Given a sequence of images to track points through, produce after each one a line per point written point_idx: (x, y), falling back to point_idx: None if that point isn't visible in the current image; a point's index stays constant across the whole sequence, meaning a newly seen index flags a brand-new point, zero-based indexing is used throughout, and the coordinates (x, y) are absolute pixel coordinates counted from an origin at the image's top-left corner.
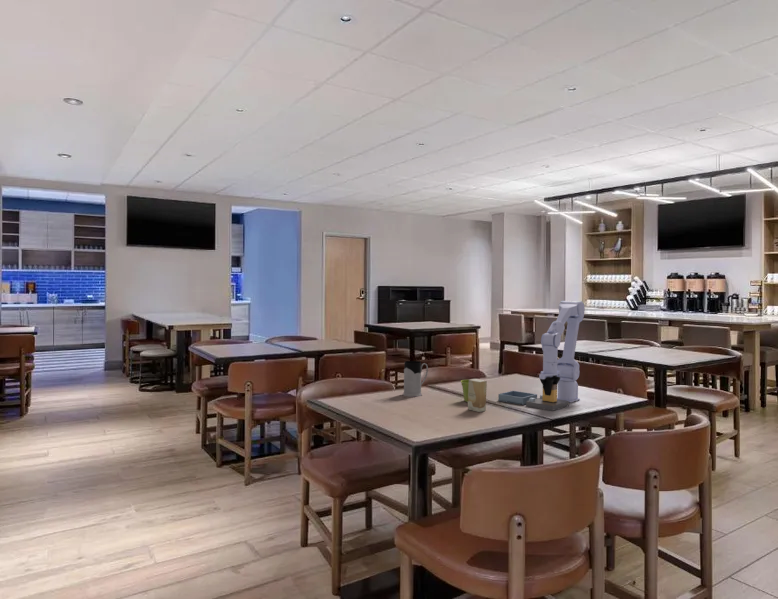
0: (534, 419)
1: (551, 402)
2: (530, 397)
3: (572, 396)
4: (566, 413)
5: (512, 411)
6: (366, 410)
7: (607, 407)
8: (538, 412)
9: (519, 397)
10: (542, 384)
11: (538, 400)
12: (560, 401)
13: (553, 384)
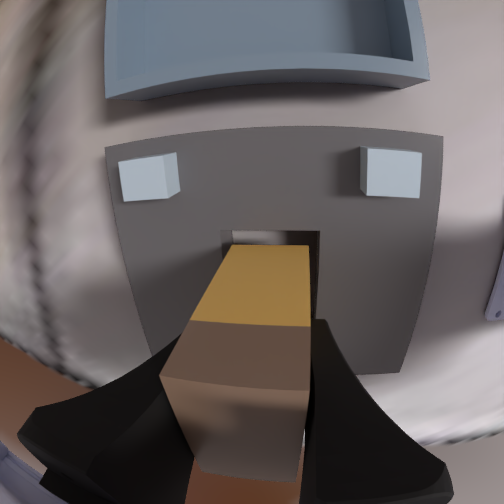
0: (18, 324)
1: (316, 284)
2: (265, 73)
3: None
4: None
5: (4, 191)
6: None
7: (439, 437)
8: (78, 295)
9: (104, 60)
10: (108, 384)
11: (232, 196)
12: (342, 349)
13: (254, 467)
